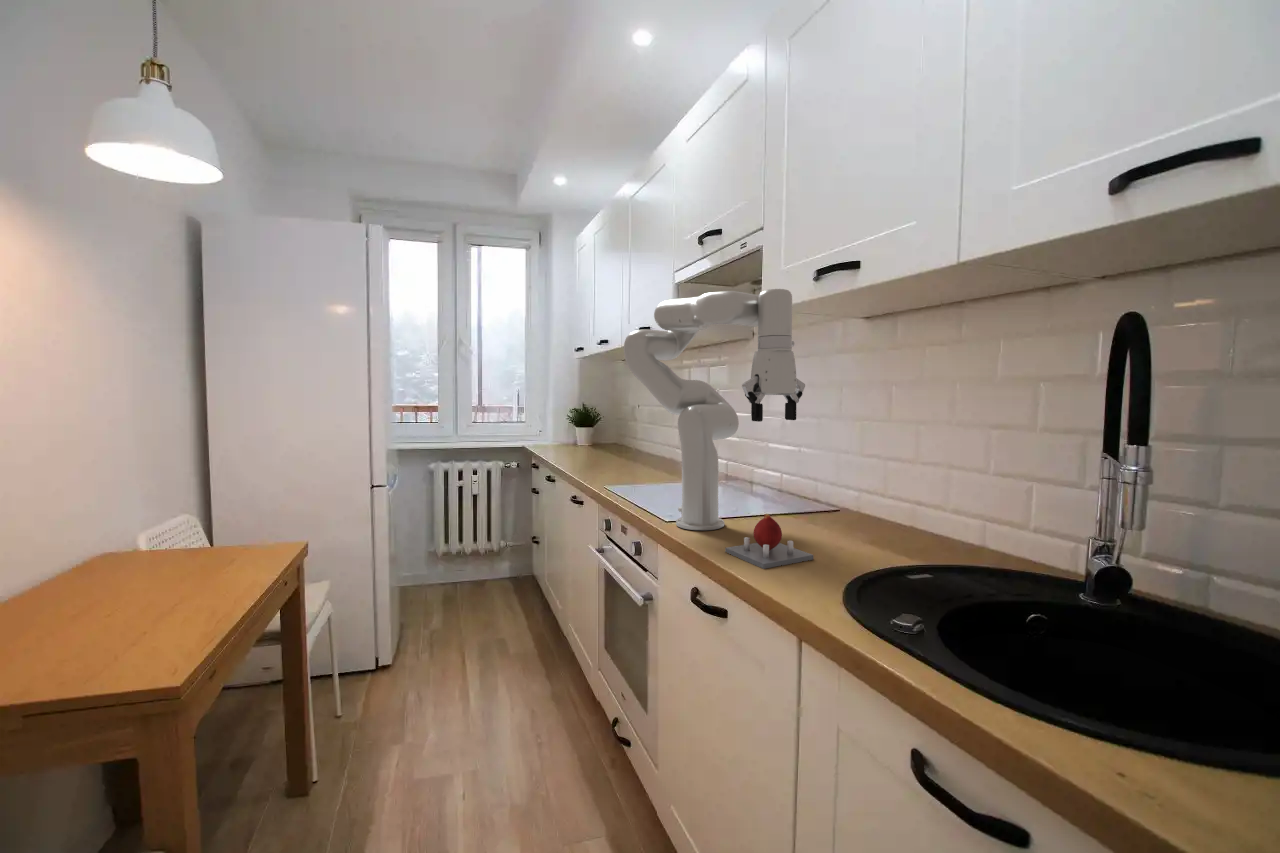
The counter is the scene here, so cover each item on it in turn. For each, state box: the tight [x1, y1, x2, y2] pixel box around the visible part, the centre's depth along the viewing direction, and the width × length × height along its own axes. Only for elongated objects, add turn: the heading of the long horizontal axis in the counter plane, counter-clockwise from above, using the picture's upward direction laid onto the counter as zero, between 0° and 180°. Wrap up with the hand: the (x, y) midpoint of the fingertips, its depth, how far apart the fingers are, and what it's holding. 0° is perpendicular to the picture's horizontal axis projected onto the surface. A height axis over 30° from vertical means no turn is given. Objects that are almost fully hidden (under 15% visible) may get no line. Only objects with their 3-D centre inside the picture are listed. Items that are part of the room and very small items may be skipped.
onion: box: [752, 513, 783, 551], centre depth 120 cm, size 6×6×8 cm
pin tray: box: [724, 536, 814, 570], centre depth 120 cm, size 13×13×4 cm
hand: (774, 420), depth 129 cm, fingers open, 9 cm apart
